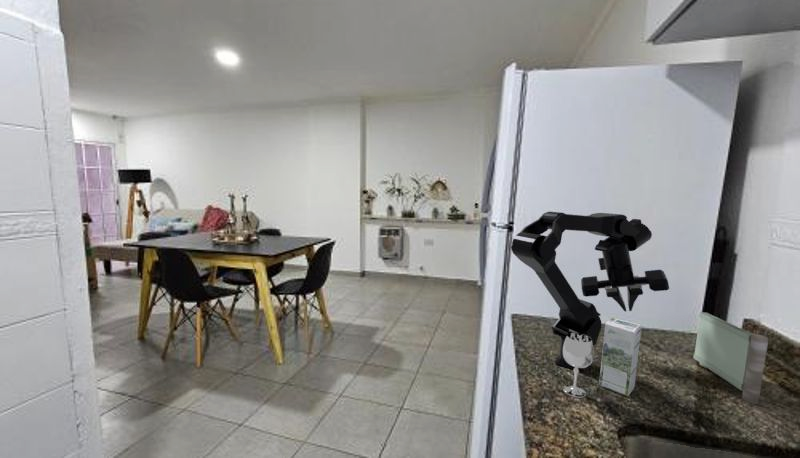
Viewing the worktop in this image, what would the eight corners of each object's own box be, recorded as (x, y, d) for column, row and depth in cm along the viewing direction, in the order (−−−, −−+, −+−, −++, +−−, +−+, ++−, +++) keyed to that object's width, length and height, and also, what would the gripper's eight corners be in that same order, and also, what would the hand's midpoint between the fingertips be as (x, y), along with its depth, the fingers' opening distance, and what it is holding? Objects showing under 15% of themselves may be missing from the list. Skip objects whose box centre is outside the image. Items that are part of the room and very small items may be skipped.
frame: (771, 405, 71) (782, 340, 70) (748, 403, 72) (758, 338, 70) (708, 364, 88) (715, 310, 86) (689, 362, 89) (696, 309, 87)
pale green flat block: (748, 390, 74) (757, 336, 72) (740, 389, 74) (748, 335, 73) (700, 358, 88) (706, 312, 86) (693, 358, 88) (699, 312, 86)
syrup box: (635, 387, 76) (642, 323, 75) (628, 398, 72) (635, 331, 71) (606, 377, 80) (612, 316, 79) (597, 386, 76) (604, 322, 75)
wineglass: (589, 402, 70) (595, 346, 69) (558, 393, 73) (563, 339, 72) (589, 388, 75) (595, 335, 74) (560, 381, 78) (565, 329, 77)
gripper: (654, 239, 90) (663, 290, 95) (575, 250, 100) (587, 296, 104) (664, 260, 81) (674, 315, 85) (576, 270, 91) (589, 319, 95)
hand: (627, 310), depth 93 cm, fingers closed
